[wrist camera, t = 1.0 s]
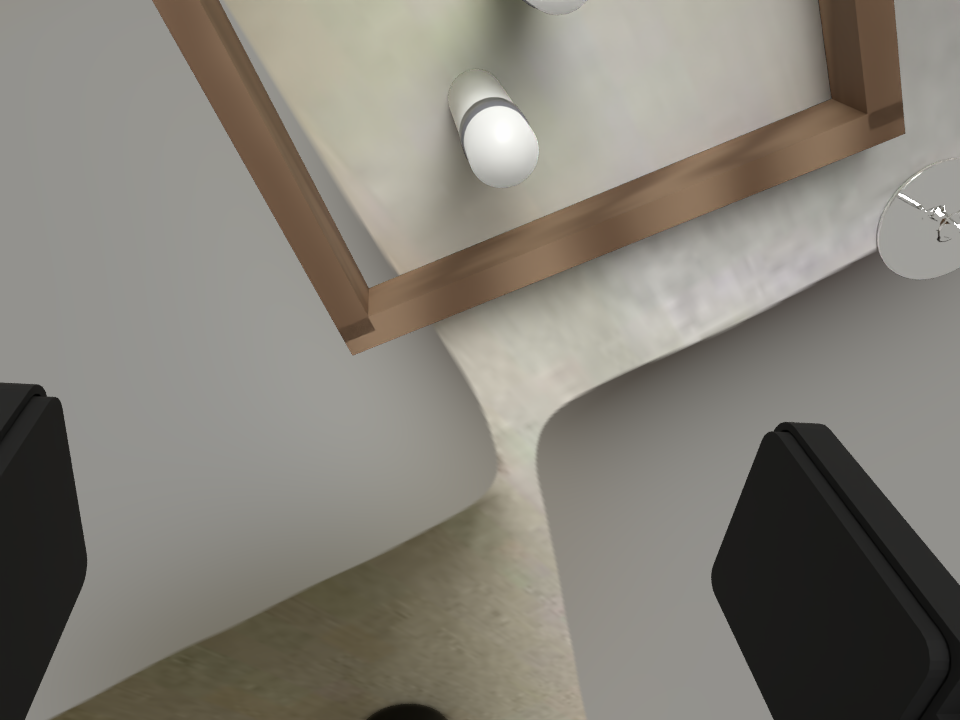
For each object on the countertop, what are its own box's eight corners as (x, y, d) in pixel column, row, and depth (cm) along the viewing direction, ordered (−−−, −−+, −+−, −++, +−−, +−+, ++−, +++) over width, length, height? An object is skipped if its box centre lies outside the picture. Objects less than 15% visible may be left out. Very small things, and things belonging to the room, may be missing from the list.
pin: (492, 58, 33) (526, 103, 25) (512, 114, 34) (550, 172, 27) (437, 82, 33) (455, 133, 26) (459, 136, 34) (482, 200, 27)
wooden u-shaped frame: (817, -332, 27) (863, -356, 25) (867, 116, 36) (905, 133, 33) (160, -28, 30) (140, -21, 27) (354, 325, 38) (352, 355, 36)
